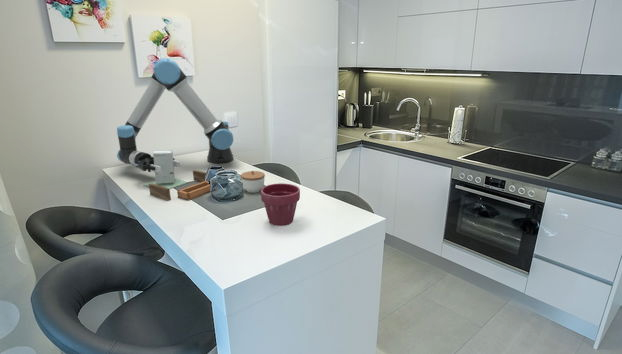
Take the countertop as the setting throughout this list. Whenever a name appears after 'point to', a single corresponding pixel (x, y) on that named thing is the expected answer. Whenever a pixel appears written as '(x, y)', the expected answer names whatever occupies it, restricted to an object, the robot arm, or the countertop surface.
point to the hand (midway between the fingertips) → (170, 166)
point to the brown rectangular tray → (194, 191)
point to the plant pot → (280, 202)
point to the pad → (170, 184)
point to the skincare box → (164, 166)
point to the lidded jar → (253, 181)
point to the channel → (165, 192)
